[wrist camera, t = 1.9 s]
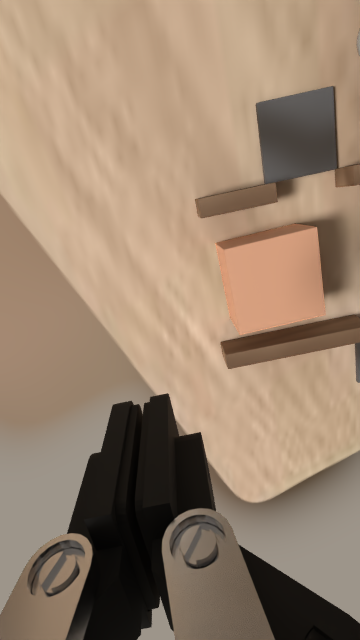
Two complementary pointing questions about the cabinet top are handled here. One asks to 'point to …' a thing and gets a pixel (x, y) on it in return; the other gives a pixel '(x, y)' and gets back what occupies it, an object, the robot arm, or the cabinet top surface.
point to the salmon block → (272, 277)
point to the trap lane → (278, 164)
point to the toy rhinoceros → (358, 43)
